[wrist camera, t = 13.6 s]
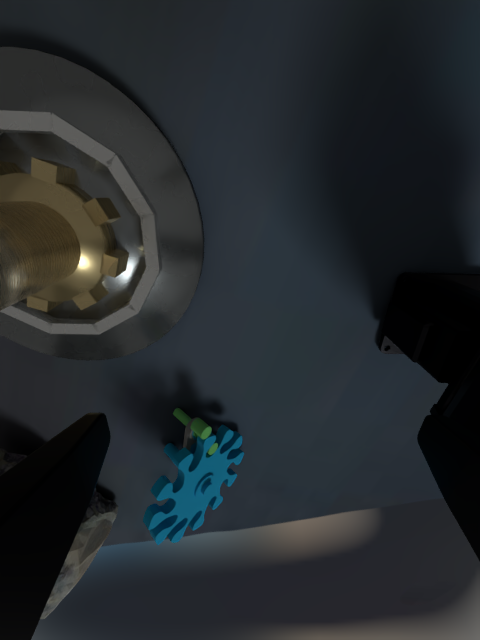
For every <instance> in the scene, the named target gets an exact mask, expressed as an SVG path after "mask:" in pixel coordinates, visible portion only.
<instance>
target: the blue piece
mask: <svg viewBox="0 0 480 640" xmlns="http://www.w3.org/2000/svg"><path fill="white" fill-rule="evenodd" d="M173 415H174V416H175V417H176V418H177V419H179V420H180V421H181V422H182V423H183V424H184V425H185V426H186V428H185V434H184V444H183V448H182V449H181V450H179V449H178V448H177V447H176V446H175V445H174V444H173V443H168V444H167V445H166V446H165V448H164V452H165V453H166V454H167V455H168V457H169V458H170V459H171V460H172V462H173V463H174V464H175V465H176V466H177V467H178V477H177V479H176V481H175V482H174V483H173V484H172V483H171V482H170V481H169V479H168V478H167V477H166V476H161V477H160V478H159V479H158V480H157V481H156V483H155V484H154V486H153V487H152V489H151V492H152V494H153V495H154V496H155V498H156V499H157V500H158V501H161V500H163V499H167V498H169V500H168V501H167V502H166V503H165V504H164V505H162V506H158V505H157V504H152V505H150V506H149V507H148V508H147V510H146V512H145V515H144V518H143V522H144V523H145V525H146V526H147V528H148V529H149V530H150V534H151V536H152V537H153V539H154V540H155V542H156V543H157V545H159V544H160V543H161V542H162V541H163V540H164V539H165V538H166V536H168V538H169V539H170V541H171V542H173V543H175V542H178V541H179V540H180V539H181V538H182V536H183V534H184V532H185V529H186V527H187V526H188V525H189V527H190V528H191V529H192V530H195V529H197V528H198V527H200V526H201V525H202V524H203V522H204V513H205V510H206V508H207V506H208V505H209V506H210V507H211V508H212V509H213V510H215V509H216V508H217V507H218V506H219V505H220V503H221V502H222V501H223V497H222V496H221V495H220V486H221V484H222V482H224V483H225V484H226V485H227V486H228V487H230V486H231V485H232V483H233V482H234V480H235V479H236V477H237V474H236V473H235V472H234V471H233V470H232V469H228V467H229V465H230V464H231V463H232V462H233V463H234V464H235V465H238V464H240V462H241V460H242V458H243V455H244V452H243V451H241V450H240V449H239V447H240V446H241V444H242V436H241V435H240V434H239V433H237V432H236V431H234V432H233V431H231V430H230V429H229V428H228V427H226V426H225V425H223V424H222V425H221V426H220V428H219V429H218V431H217V434H216V436H215V435H214V434H213V433H212V432H211V431H212V428H211V427H210V426H209V425H207V424H206V423H205V422H204V421H203V420H201V419H200V418H198V417H195V418H193V419H191V418H190V417H189V416H188V415H187V414H185V413H184V412H183V411H182V410H181V409H180V408H177V409H175V410H174V412H173ZM232 449H233V450H232ZM231 450H232V451H231ZM230 451H231V452H230Z"/></svg>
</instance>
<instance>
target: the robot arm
mask: <svg viewBox="0 0 480 640" xmlns="http://www.w3.org/2000/svg"><path fill="white" fill-rule="evenodd" d="M406 278H408V280H407V281H406V282H404V280H405V279H406ZM385 346H387V347H386V348H384V347H385ZM378 348H379V350H380V351H381V352H382V353H385V354H405V355H406V356H407V357H408V358H409V359H411V360H412V361H413V362H417V363H418V364H419V365H420V366H422V367H423V368H424V369H425V370H426V371H427V372H428V373H429V374H430V375H431V376H432V377H434V378H435V379H436V380H437V381H438V382H440V383H448V384H449V385H448V386H447V388H446V389H445V391H444V393H443V394H442V396H441V397H440V399H439V401H438V402H437V404H434V405H433V407H432V408H431V410H430V413H431V415H427V416H426V417H425V419H424V421H423V423H422V426H421V428H420V431H419V433H418V437H417V439H418V444H419V446H420V448H421V450H422V453H423V455H424V457H425V459H426V461H427V463H428V465H429V467H430V470H431V472H432V474H433V476H434V478H435V480H436V482H437V485H438V487H439V489H440V491H441V493H442V495H443V497H444V499H445V501H446V503H447V505H448V506H449V508H450V510H451V512H452V514H453V515H454V517H455V519H456V520H457V522H458V524H459V526H460V528H461V529H462V531H463V533H464V535H465V536H466V538H467V540H468V541H469V543H470V545H471V547H472V548H473V550H474V552H475V554H476V555H477V557H478V559H479V561H480V274H451V273H411V272H406V273H402V274H401V275H400V276H399V277H398V279H397V283H396V286H395V290H394V293H393V297H392V300H391V302H390V303H389V307H388V310H387V314H386V317H385V321H384V324H383V328H382V335H381V339H380V342H379V346H378ZM109 443H110V431H109V426H108V422H107V418H106V415H105V414H104V413H88V414H86V415H84V416H83V417H82V418H80V419H79V420H77V421H76V422H75V423H73V424H72V425H70V426H69V427H68V428H66V429H65V430H63V431H62V432H61V433H59V434H58V435H56V436H55V437H54V438H52V439H51V440H49V441H48V442H47V443H45V444H44V445H42V446H41V447H40V448H38V449H37V450H35V451H34V452H33V453H31V454H30V455H28V456H27V457H26V458H24V459H23V460H21V461H20V462H19V463H17V464H16V465H14V466H13V467H12V468H10V469H9V470H7V471H6V472H4V473H3V474H2V475H0V640H31V638H32V636H33V634H34V632H35V629H36V627H37V625H38V622H39V620H40V618H41V615H42V613H43V611H44V608H45V606H46V604H47V602H48V599H49V597H50V595H51V592H52V590H53V588H54V585H55V583H56V581H57V578H58V576H59V574H60V572H61V569H62V567H63V565H64V562H65V560H66V558H67V555H68V553H69V551H70V548H71V546H72V544H73V542H74V539H75V537H76V535H77V532H78V530H79V528H80V525H81V523H82V521H83V518H84V516H85V514H86V511H87V509H88V506H89V504H90V501H91V499H92V496H93V493H94V490H95V487H96V484H97V481H98V477H99V474H100V471H101V468H102V465H103V462H104V459H105V456H106V453H107V450H108V447H109Z"/></svg>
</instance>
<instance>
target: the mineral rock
mask: <svg viewBox="0 0 480 640" xmlns="http://www.w3.org/2000/svg"><path fill="white" fill-rule="evenodd" d="M26 457H27V456H25V455H20V454H15V453H8V452H7V451H6V450H5V449H2V448H0V475H2V474H3V473H4V472H6V471H7V470H9V469H10V468H12V467H13V466H14V465H16V464H17V463H19V462H20V461H21V460H23V459H24V458H26ZM117 511H118V506H117V504H116V503H115V502H114V501H113V500H112V501H110V500H108V499H106V498H103V497H102V495H101V494H100V493H98V492H96V488H95V490H94V493H93V496H92V499H91V501H90V504H89V506H88V509H87V511H86V514H85V516H84V518H83V521H82V523H81V525H80V528H79V530H78V532H77V535H76V537H75V539H74V542H73V544H72V546H71V548H70V551H69V553H68V555H67V558H66V560H65V562H64V565H63V567H62V569H61V572H60V574H59V576H58V578H57V581H56V583H55V585H54V588H53V590H52V592H51V595H50V597H49V599H48V602H47V604H46V606H45V608H44V611H43V613H42V615H41V618H40V619H45V618H46V617H47V616H48V615H49V614H50V613H51V612H52V611H53V610H54V609H55V608H56V607H57V605H58V604H59V602H61V600H62V599H63V598H64V597H65V596H66V595H67V594H68V593H69V592H70V591H71V590H72V588H73V587H74V586H75V585H76V584H77V582H78V581H79V580H80V578H81V577H82V576H83V574H84V573H85V571H86V570H87V568H88V567H89V565H90V564H91V562H92V560H93V559H94V557H95V555H96V554H97V552H98V550H99V548H100V547H101V545H102V544H103V542H104V541H105V539H106V538H107V536H108V534H109V532H110V530H111V527H112V523H113V521H114V520H115V518H116V516H117Z"/></svg>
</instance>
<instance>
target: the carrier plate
mask: <svg viewBox="0 0 480 640" xmlns="http://www.w3.org/2000/svg"><path fill="white" fill-rule="evenodd" d="M32 157H34V158H40V159H45V160H50V161H55V162H57V163H60V164H63V165H65V166H68V167H71V168H73V169H76V173H75V184H74V185H76V186H78V187H79V188H81V189H82V190H84V191H85V192H86V193H88V194H89V195H90V196H91V197H92V198H93V199H94V198H110V200H111V201H112V203H113V204H114V206H115V208H116V209H117V211H118V212H119V214H120V216H121V218H119V219H117V220H115V221H114V222H112V223H111V226H112V228H113V231H114V235H115V239H116V249H119V250H122V251H125V252H128V253H129V257H128V262H127V268H126V271H124V272H123V273H121V274H120V275H118V276H117V277H116V278H114V277H111V276H108V277H107V278H106V279H105V280H104V281H103V282H102V284H103V286H104V287H105V288H106V290H107V291H108V294H107V295H106V296H105V297H103V298H102V299H101V300H99V301H98V302H97V303H95V304H93V305H91V306H89V307H87V308H85V309H83V310H80V308H79V307H78V306H77V305H76V303H75V302H74V301H73V300H69V301H64V302H63V303H61V304H59V305H58V306H56V307H55V308H53V309H51V310H50V311H48V312H45V311H41V310H38V309H34V308H31V307H27V298H25V299H23V300H21V301H19V302H17V303H15V304H13V305H11V306H9V307H7V308H5V309H3V310H1V311H0V334H1V335H3V336H4V337H6V338H8V339H10V340H12V341H14V342H16V343H18V344H20V345H22V346H25V347H28V348H30V349H33V350H36V351H38V352H41V353H45V354H49V355H52V356H56V357H62V358H68V359H76V360H105V359H111V358H118V357H121V356H125V355H129V354H132V353H134V352H137V351H139V350H141V349H144V348H146V347H148V346H149V345H151V344H153V343H154V342H156V341H158V340H159V339H160V338H161V337H163V336H164V335H165V334H166V333H168V332H169V331H170V330H171V329H172V328H173V326H174V325H175V324H176V323H177V322H178V321H179V320H180V318H181V317H182V315H183V314H184V312H185V311H186V309H187V308H188V306H189V304H190V302H191V300H192V298H193V296H194V293H195V291H196V288H197V285H198V282H199V279H200V276H201V271H202V265H203V259H204V231H203V221H202V216H201V212H200V207H199V202H198V199H197V197H196V194H195V191H194V188H193V185H192V182H191V180H190V178H189V176H188V174H187V172H186V169H185V167H184V165H183V163H182V161H181V160H180V158H179V157H178V155H177V153H176V152H175V150H174V148H173V147H172V145H171V144H170V142H169V141H168V140H167V138H166V137H165V136H164V135H163V133H162V132H161V131H160V129H159V128H158V127H157V126H156V124H155V123H154V122H153V121H152V120H151V119H150V118H149V117H148V116H147V115H146V114H145V113H144V112H143V111H142V110H141V109H140V108H139V107H138V106H137V105H136V104H135V103H134V102H133V101H131V100H130V99H129V98H128V97H127V96H125V95H124V94H123V93H122V92H120V91H119V90H118V89H117V88H115V87H114V86H113V85H112V84H110V83H109V82H107V81H106V80H104V79H102V78H101V77H99V76H97V75H96V74H94V73H93V72H91V71H89V70H88V69H86V68H84V67H82V66H79V65H77V64H75V63H73V62H70V61H68V60H66V59H64V58H61V57H58V56H55V55H51V54H48V53H44V52H41V51H38V50H32V49H24V48H17V47H0V161H4V162H11V163H15V164H16V165H17V166H18V168H19V169H20V170H21V172H22V173H26V174H31V159H32Z"/></svg>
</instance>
